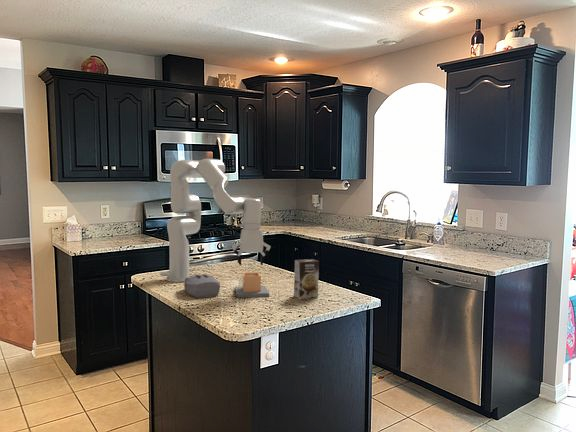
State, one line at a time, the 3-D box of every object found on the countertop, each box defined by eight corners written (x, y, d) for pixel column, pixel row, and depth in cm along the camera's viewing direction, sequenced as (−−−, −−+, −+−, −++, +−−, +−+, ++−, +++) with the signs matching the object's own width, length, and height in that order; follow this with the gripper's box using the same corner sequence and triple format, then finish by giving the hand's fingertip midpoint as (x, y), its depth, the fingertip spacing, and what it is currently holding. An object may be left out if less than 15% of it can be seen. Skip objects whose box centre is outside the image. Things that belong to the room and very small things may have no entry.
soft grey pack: (224, 296, 207) (210, 286, 225) (224, 277, 206) (210, 269, 224) (190, 300, 200) (178, 289, 218) (190, 280, 200) (178, 271, 217)
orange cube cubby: (243, 292, 208) (244, 276, 208) (242, 288, 216) (242, 272, 215) (260, 291, 210) (260, 275, 209) (258, 287, 217) (258, 272, 216)
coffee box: (299, 299, 203) (300, 262, 202) (293, 295, 209) (294, 259, 208) (318, 297, 207) (319, 260, 205) (312, 294, 213) (312, 258, 211)
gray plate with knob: (236, 297, 205) (237, 280, 204) (234, 289, 218) (234, 273, 218) (269, 296, 207) (269, 279, 206) (265, 288, 221) (265, 272, 220)
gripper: (232, 227, 205) (231, 266, 207) (272, 227, 208) (271, 266, 210) (231, 225, 212) (230, 262, 214) (270, 225, 215) (268, 262, 217)
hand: (250, 264), depth 212 cm, fingers open, 9 cm apart
